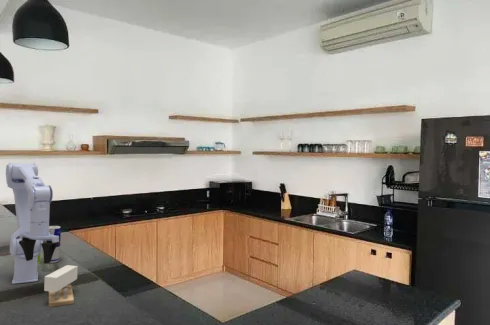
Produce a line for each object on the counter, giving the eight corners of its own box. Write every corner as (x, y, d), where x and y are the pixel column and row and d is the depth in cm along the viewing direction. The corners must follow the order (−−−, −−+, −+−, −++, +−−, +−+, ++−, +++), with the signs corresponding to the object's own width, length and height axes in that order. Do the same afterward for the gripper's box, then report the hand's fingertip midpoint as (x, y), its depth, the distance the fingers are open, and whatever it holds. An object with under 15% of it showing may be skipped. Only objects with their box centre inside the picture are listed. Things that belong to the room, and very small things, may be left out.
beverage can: (53, 264, 153) (54, 228, 152) (41, 262, 154) (43, 227, 153) (62, 260, 158) (63, 226, 158) (51, 259, 159) (52, 225, 159)
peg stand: (48, 291, 125) (49, 278, 124) (71, 288, 128) (71, 276, 128) (48, 307, 112) (49, 293, 112) (73, 303, 116) (74, 290, 116)
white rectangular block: (56, 291, 114) (56, 277, 114) (44, 290, 114) (44, 276, 114) (77, 278, 126) (77, 266, 126) (66, 278, 126) (66, 265, 126)
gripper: (66, 221, 125) (64, 260, 125) (32, 217, 129) (31, 256, 129) (50, 224, 118) (48, 266, 118) (14, 221, 122) (13, 261, 122)
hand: (38, 261), depth 123 cm, fingers open, 7 cm apart
